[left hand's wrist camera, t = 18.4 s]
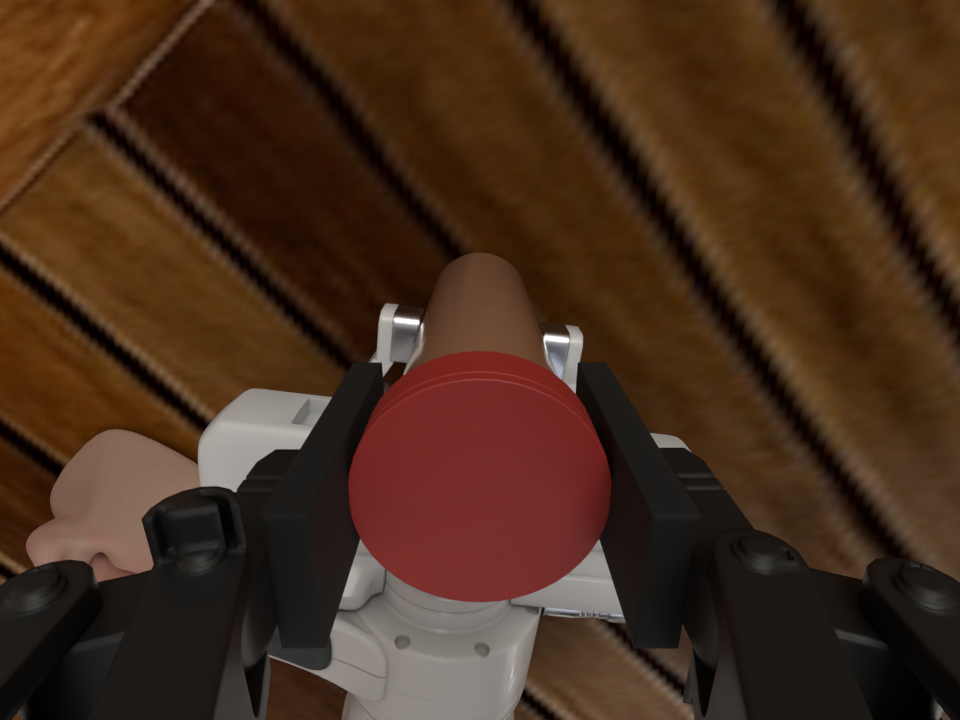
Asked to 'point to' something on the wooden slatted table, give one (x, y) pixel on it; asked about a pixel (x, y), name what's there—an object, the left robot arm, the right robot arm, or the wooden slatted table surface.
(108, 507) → the anatomical model
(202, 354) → the wooden slatted table surface
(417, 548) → the lid
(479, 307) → the jar
